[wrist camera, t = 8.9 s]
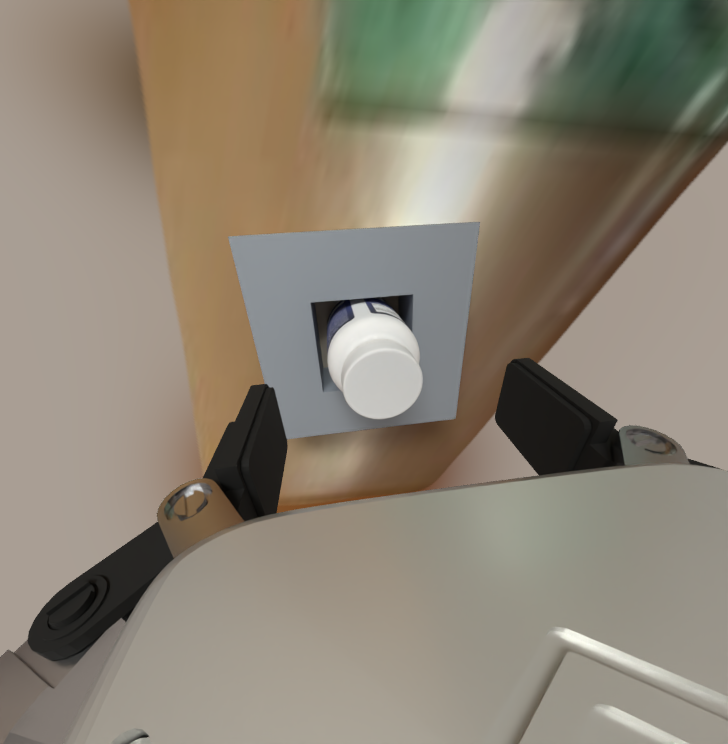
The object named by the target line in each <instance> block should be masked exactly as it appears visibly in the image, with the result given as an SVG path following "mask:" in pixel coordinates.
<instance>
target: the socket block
mask: <svg viewBox="0 0 728 744" xmlns="http://www.w3.org/2000/svg"><path fill="white" fill-rule="evenodd" d="M479 227H480V222H469V223H449V224H431V225H414V226H397V227H380V228H363V229H346V230H329V231H312V232H295V233H278V234H261V235H245V236H232V237H228V238H229V242H230V246H231V250H232V254H233V258H234V262H235V266H236V270H237V274H238V278H239V282H240V286H241V290H242V294H243V298H244V302H245V306H246V310H247V314H248V318H249V322H250V326H251V330H252V334H253V338H254V342H255V346H256V350H257V354H258V358H259V362H260V366H261V370H262V374H263V378H264V382H265V384H268V386H269V387H273V388H274V390H275V394H276V398H277V402H278V406H279V410H280V414H281V418H282V422H283V426H284V430H285V434H286V438H287V439H293V438H301V437H309V436H317V435H326V434H334V433H342V432H351V431H359V430H367V429H375V428H384V427H392V426H400V425H409V424H417V423H425V422H433V421H442V420H450V419H455V418H456V410H457V402H458V394H459V386H460V378H461V370H462V362H463V354H464V346H465V338H466V331H467V323H468V315H469V307H470V299H471V291H472V283H473V275H474V267H475V259H476V251H477V243H478V235H479ZM374 297H381V298H383V299H384V300H385V301H386V302H387V303H388V304H389V305H390V306H391V307H392V308H393V310H394V311H395V312H396V313H397V314H398V315H399V317H400V318H401V319H402V320H403V321H404V323H405V324H406V325H407V326H408V327H409V329H410V330H411V332H412V333H413V334H414V336H415V338H416V340H417V343H418V346H419V351H420V362H419V366H420V368H421V371H422V375H423V384H422V389H421V392H420V394H419V396H418V398H417V400H416V401H415V402H414V404H413V405H412V406H411V407H410V408H408V409H407V410H406V411H404V412H403V413H401V414H399V415H397V416H394V417H391V418H386V419H372V418H367V417H364V416H362V415H360V414H358V413H356V412H355V411H354V410H353V409H352V408H351V407H350V406H349V405H348V403H347V402H346V400H345V397H344V394H343V392H342V391H341V390H340V389H339V388H338V387H337V386H336V384H335V383H334V381H333V380H332V378H331V376H330V373H329V369H328V363H327V321H328V317H329V314H330V311H331V310H332V308H333V307H334V305H335V304H336V303H337V302H338V301H339V300H349V299H361V298H374Z"/></svg>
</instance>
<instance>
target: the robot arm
mask: <svg viewBox="0 0 728 744" xmlns="http://www.w3.org/2000/svg"><path fill="white" fill-rule="evenodd" d="M495 420H496V423H497V425H498V426H499V427H500V428H501V430H502V431H503V432H504V433H505V434H506V436H507V437H508V438H509V439H510V441H511V442H512V443H513V444H514V445H515V447H516V448H517V449H518V450H519V452H520V453H521V454H522V455H523V456H524V458H525V459H526V460H527V461H528V462H529V464H530V465H531V466H532V467H533V469H534V470H535V471H536V472H537V473H538V475H539V476H531V477H524V478H516V479H508V480H501V481H493V482H486V483H478V484H471V485H463V486H456V487H448V488H441V489H434V490H426V491H419V492H412V493H405V494H398V495H391V496H383V497H376V498H370V499H362V500H355V501H348V502H341V503H335V504H328V505H322V506H316V507H309V508H304V509H297V510H291V511H286V512H281V513H276V512H277V506H278V500H279V495H280V489H281V483H282V477H283V471H284V465H285V459H286V454H287V438H286V434H285V430H284V426H283V422H282V418H281V414H280V410H279V406H278V402H277V398H276V394H275V390H274V388H273V387H269V386H268V384H261V385H252V386H251V387H250V389H249V391H248V394H247V396H246V398H245V400H244V403H243V405H242V407H241V409H240V412H239V414H238V416H237V418H236V421H235V422H230V423H229V424H228V426H227V428H226V430H225V432H224V434H223V436H222V439H221V441H220V443H219V445H218V447H217V449H216V451H215V453H214V455H213V458H212V460H211V462H210V464H209V466H208V468H207V470H206V472H205V474H204V476H203V478H200V479H195V480H191V481H188V482H186V483H184V484H182V485H180V486H179V487H177V488H176V489H174V490H173V491H172V492H170V494H169V495H167V496H166V497H165V498H164V500H163V501H162V503H161V504H160V506H159V508H158V512H157V520H158V522H157V523H155V524H154V525H153V526H151V527H150V528H148V529H147V530H145V531H144V532H143V533H141V534H140V535H138V536H137V537H135V538H134V539H132V540H131V541H129V542H128V543H127V544H125V545H124V546H122V547H121V548H119V549H118V550H116V551H115V552H114V553H112V554H111V555H109V556H108V557H106V558H105V559H104V560H102V561H101V562H99V563H98V564H96V565H95V566H94V567H92V568H91V569H89V570H88V571H86V572H85V573H83V574H82V575H80V576H79V577H78V578H76V579H75V580H73V581H72V582H70V583H69V584H68V585H66V586H65V587H64V588H63V589H62V590H60V591H59V592H58V593H57V594H55V596H53V597H52V599H51V600H50V601H49V602H48V603H47V604H46V605H45V606H44V607H43V608H42V610H41V611H40V613H39V614H38V615H37V617H36V618H35V620H34V622H33V624H32V626H31V628H30V631H29V635H28V640H27V641H26V642H25V643H24V644H23V645H21V646H20V647H19V648H18V649H17V650H16V651H15V652H12V651H10V650H7V651H6V652H5V653H4V654H3V655H2V656H1V657H0V744H728V471H726V470H722V469H719V468H716V467H713V466H709V465H707V464H703V463H700V462H697V461H694V460H691V459H687V456H686V454H685V452H684V450H683V448H682V447H681V445H680V444H678V443H677V442H676V441H675V440H673V439H672V438H670V437H668V436H667V435H665V434H662V433H660V432H658V431H656V430H653V429H649V428H646V427H641V426H630V425H629V426H624V427H622V428H621V429H620V430H619V432H618V431H617V430H616V429H614V426H615V424H616V422H617V419H616V418H614V417H613V416H611V415H610V414H608V413H607V412H605V411H604V410H603V409H601V408H600V407H598V406H597V405H596V404H594V403H593V402H591V401H590V400H588V399H587V398H586V397H584V396H583V395H581V394H580V393H578V392H577V391H576V390H574V389H573V388H571V387H570V386H568V385H567V384H566V383H564V382H563V381H561V380H560V379H558V378H557V377H556V376H554V375H553V374H551V373H550V372H548V371H547V370H546V369H544V368H543V367H541V366H540V365H538V364H537V363H536V362H534V361H533V360H531V359H529V358H522V359H514V360H512V361H511V363H509V364H508V365H507V368H506V372H505V376H504V380H503V385H502V389H501V393H500V397H499V401H498V406H497V410H496V414H495ZM147 737H149V738H147Z"/></svg>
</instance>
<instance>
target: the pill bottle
mask: <svg viewBox="0 0 728 744" xmlns="http://www.w3.org/2000/svg"><path fill="white" fill-rule="evenodd" d="M419 362H420V351H419V346H418V343H417V340H416V338H415V336H414V334H413V333H412V332H411V330H410V329H409V327H408V326H407V325H406V324H405V323H404V321H403V320H402V319H401V318H400V317H399V315H398V314H397V313H396V312H395V311H394V310H393V308H392V307H391V306H390V305H389V304H388V303H387V302H386V301H385V300H384V299H383V298H381V297H374V298H361V299H349V300H339V301H338V302H337V303H336V304H335V305H334V307H333V308H332V310H331V311H330V314H329V317H328V321H327V363H328V369H329V373H330V376H331V378H332V380H333V381H334V383H335V384H336V386H337V387H338V388H339V389H340V390H341V391H342V392H343V394H344V397H345V400H346V402H347V403H348V405H349V406H350V407H351V408H352V409H353V410H354V411H355V412H356V413H358V414H360V415H362V416H364V417H367V418H372V419H386V418H391V417H394V416H397V415H399V414H401V413H403V412H404V411H406V410H407V409H408V408H410V407H411V406H412V405H413V404H414V402H415V401H416V400H417V398H418V396H419V394H420V392H421V389H422V384H423V375H422V371H421V368H420V366H419Z"/></svg>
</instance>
